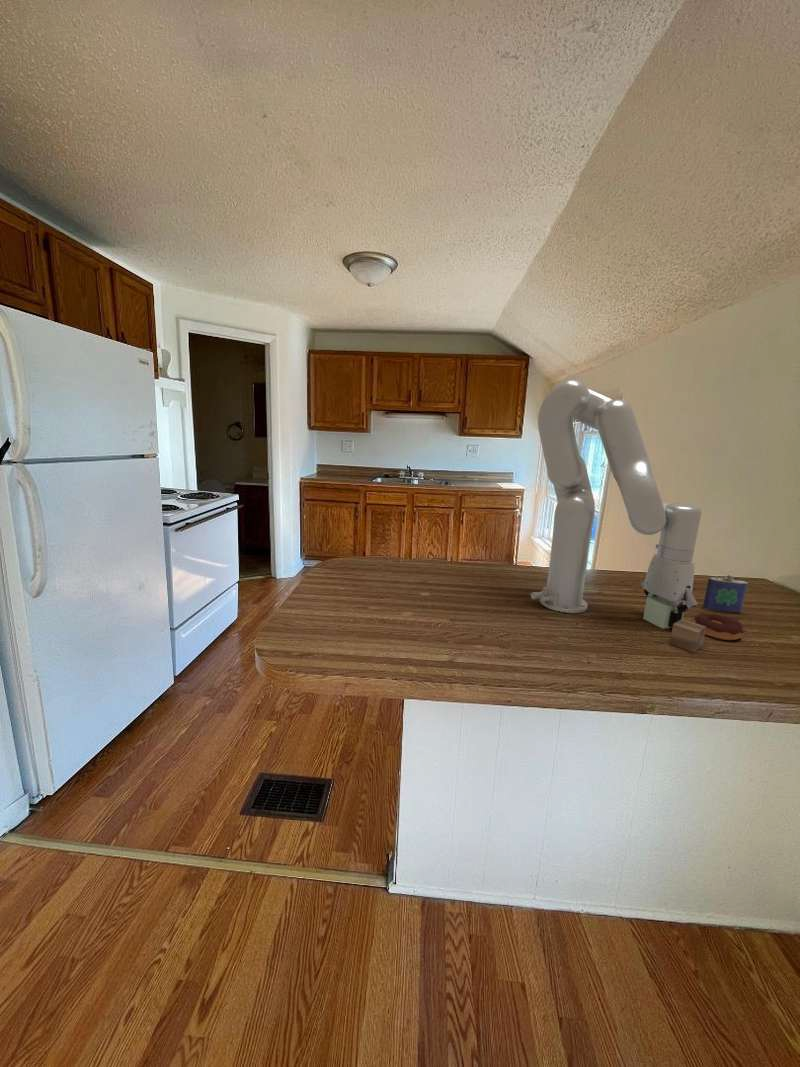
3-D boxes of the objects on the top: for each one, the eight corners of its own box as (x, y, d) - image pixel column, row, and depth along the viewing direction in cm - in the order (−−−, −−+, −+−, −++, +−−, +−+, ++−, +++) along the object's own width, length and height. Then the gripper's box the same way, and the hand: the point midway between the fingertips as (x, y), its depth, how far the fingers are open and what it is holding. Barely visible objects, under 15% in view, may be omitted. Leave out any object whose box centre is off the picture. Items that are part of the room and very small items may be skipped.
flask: (738, 610, 119) (747, 574, 117) (743, 615, 117) (752, 578, 114) (701, 606, 122) (708, 570, 119) (705, 610, 119) (712, 574, 117)
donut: (682, 627, 108) (685, 612, 107) (707, 621, 112) (710, 607, 111) (725, 645, 99) (728, 630, 98) (750, 639, 103) (754, 623, 102)
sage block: (662, 628, 107) (667, 606, 105) (643, 618, 112) (646, 597, 111) (681, 626, 109) (685, 604, 107) (660, 616, 114) (664, 595, 113)
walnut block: (693, 652, 95) (698, 632, 94) (669, 643, 99) (673, 624, 98) (702, 646, 98) (706, 626, 97) (678, 638, 102) (681, 618, 101)
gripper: (634, 545, 113) (624, 608, 117) (696, 565, 97) (681, 637, 101) (656, 544, 115) (645, 606, 119) (720, 563, 99) (705, 634, 103)
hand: (662, 620), depth 110 cm, fingers closed on sage block, 6 cm apart
